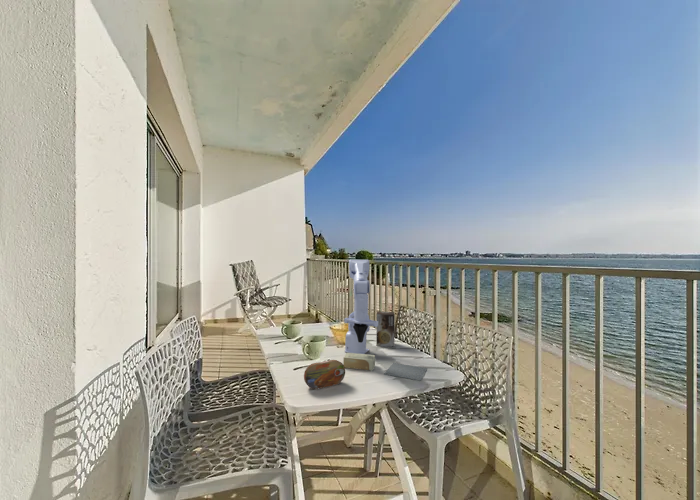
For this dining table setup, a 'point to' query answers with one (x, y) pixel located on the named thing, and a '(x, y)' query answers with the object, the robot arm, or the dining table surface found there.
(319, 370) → the tin
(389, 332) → the coffee box
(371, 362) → the skincare box
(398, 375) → the mat
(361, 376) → the dining table surface
